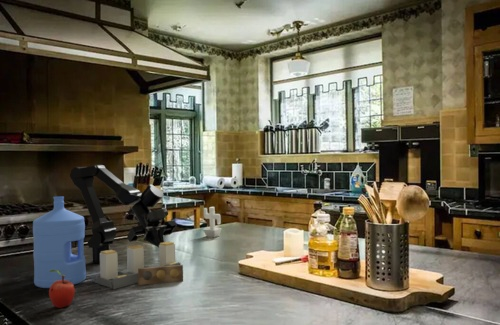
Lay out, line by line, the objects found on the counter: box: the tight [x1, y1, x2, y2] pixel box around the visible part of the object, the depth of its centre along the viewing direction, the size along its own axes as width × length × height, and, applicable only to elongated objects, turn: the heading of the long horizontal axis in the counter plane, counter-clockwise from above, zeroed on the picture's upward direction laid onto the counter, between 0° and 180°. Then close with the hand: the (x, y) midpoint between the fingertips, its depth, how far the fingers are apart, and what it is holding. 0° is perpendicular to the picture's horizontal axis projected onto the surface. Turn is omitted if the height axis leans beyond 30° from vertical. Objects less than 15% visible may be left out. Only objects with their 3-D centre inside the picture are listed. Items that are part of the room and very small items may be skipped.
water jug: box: [32, 195, 87, 289], centre depth 139 cm, size 16×16×28 cm
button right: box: [158, 241, 176, 267], centre depth 150 cm, size 4×4×9 cm
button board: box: [93, 261, 181, 290], centre depth 144 cm, size 12×26×3 cm, turn 138°
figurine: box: [202, 206, 223, 238], centre depth 217 cm, size 7×9×15 cm
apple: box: [48, 270, 76, 309], centre depth 115 cm, size 8×7×10 cm
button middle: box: [126, 244, 145, 273], centre depth 145 cm, size 4×4×9 cm
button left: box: [99, 249, 119, 280], centre depth 138 cm, size 4×4×9 cm
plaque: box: [137, 264, 184, 286], centre depth 136 cm, size 14×2×5 cm, turn 103°
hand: (163, 248), depth 151 cm, fingers closed
